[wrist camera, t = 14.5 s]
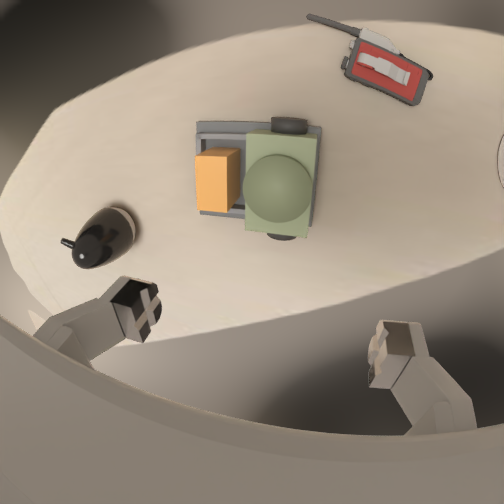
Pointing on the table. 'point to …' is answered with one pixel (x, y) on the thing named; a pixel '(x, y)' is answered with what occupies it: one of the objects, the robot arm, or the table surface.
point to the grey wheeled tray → (270, 172)
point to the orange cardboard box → (217, 178)
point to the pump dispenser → (102, 238)
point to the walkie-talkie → (381, 64)
